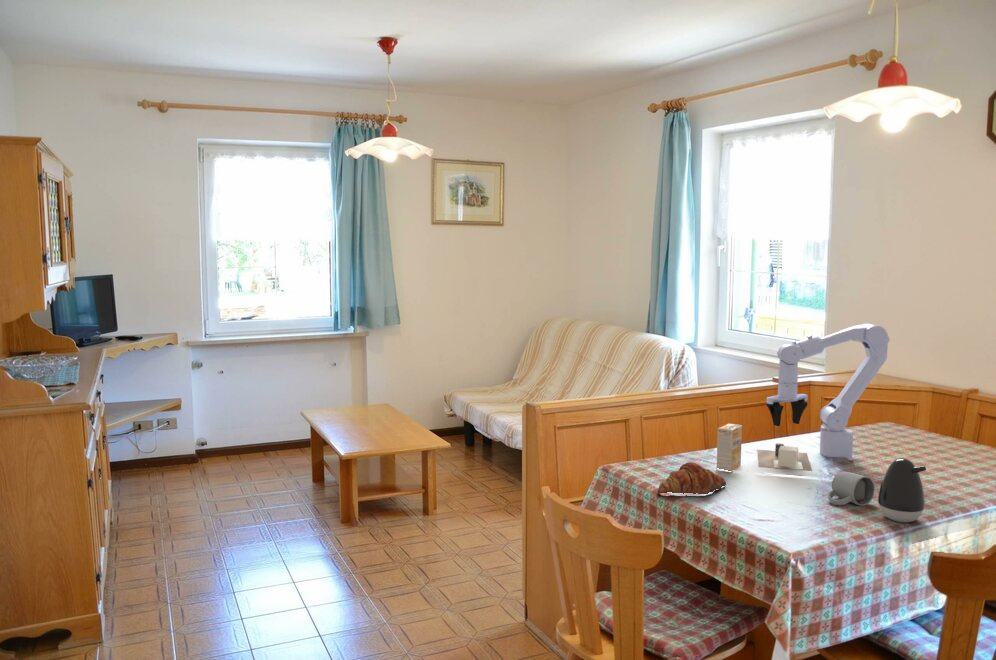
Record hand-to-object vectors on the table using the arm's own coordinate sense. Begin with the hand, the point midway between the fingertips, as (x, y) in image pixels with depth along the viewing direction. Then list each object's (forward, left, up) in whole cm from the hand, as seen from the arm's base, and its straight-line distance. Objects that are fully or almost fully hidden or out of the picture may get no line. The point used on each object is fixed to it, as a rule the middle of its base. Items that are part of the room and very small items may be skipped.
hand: (786, 424), depth 247 cm
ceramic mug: (-14, +43, -10) cm, 46 cm away
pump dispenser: (-24, +53, -10) cm, 59 cm away
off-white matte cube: (0, +15, -9) cm, 17 cm away
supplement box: (+17, +21, -10) cm, 29 cm away
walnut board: (+1, +9, -10) cm, 13 cm away
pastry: (+26, +45, -10) cm, 53 cm away
